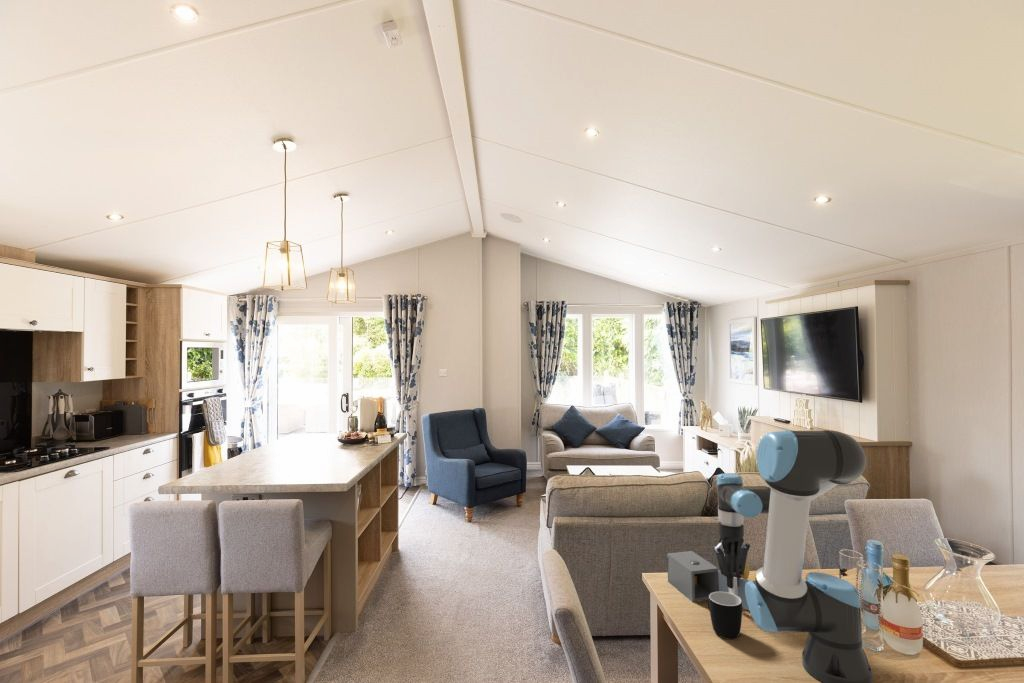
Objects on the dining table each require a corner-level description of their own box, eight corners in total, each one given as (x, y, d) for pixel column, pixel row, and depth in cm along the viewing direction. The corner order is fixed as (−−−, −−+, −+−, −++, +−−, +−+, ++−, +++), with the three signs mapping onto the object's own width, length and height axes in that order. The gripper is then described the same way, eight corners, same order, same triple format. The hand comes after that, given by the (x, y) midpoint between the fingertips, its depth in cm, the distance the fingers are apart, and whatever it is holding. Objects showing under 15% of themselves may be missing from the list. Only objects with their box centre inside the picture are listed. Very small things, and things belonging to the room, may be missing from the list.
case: (719, 598, 168) (718, 567, 168) (692, 602, 166) (691, 570, 166) (692, 578, 184) (691, 550, 184) (667, 581, 182) (666, 553, 182)
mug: (750, 639, 143) (748, 603, 144) (723, 644, 141) (722, 607, 141) (722, 618, 155) (720, 585, 155) (697, 623, 153) (696, 589, 153)
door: (720, 596, 168) (719, 569, 169) (750, 608, 160) (749, 579, 160) (718, 597, 167) (717, 570, 168) (748, 609, 159) (747, 581, 159)
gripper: (738, 517, 167) (740, 589, 166) (706, 521, 163) (708, 595, 162) (755, 524, 160) (758, 599, 159) (722, 528, 156) (725, 605, 155)
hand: (733, 597), depth 160 cm, fingers closed
